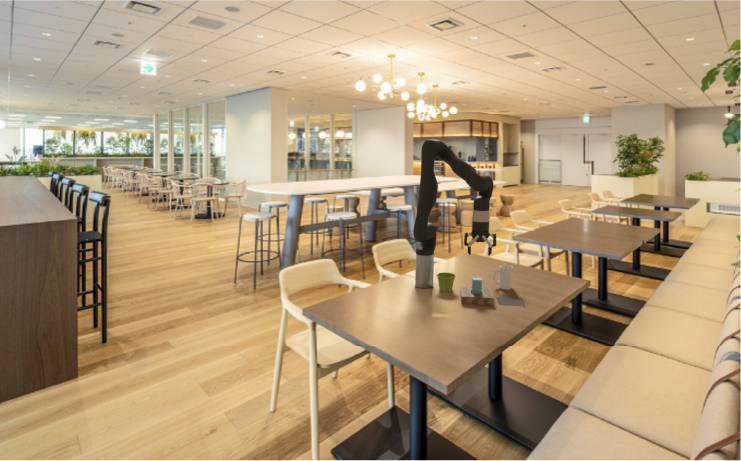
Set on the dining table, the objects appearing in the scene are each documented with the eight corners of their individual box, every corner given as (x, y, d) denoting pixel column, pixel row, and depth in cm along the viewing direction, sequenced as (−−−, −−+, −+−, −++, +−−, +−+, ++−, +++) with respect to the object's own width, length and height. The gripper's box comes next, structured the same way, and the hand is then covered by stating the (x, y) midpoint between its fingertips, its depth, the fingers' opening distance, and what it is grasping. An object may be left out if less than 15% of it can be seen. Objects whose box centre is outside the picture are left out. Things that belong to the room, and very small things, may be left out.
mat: (498, 306, 180) (498, 304, 179) (495, 298, 190) (495, 296, 190) (524, 308, 178) (524, 306, 177) (520, 299, 188) (520, 297, 188)
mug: (508, 286, 207) (509, 264, 205) (514, 291, 201) (515, 267, 199) (489, 287, 206) (490, 265, 204) (494, 291, 200) (495, 268, 198)
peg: (472, 300, 185) (472, 279, 183) (471, 297, 189) (472, 277, 187) (481, 301, 184) (481, 280, 182) (480, 298, 188) (481, 277, 186)
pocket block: (461, 305, 181) (461, 296, 180) (460, 295, 195) (460, 286, 194) (493, 307, 179) (493, 298, 178) (490, 297, 192) (490, 288, 191)
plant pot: (455, 295, 195) (455, 278, 194) (435, 294, 197) (436, 277, 196) (455, 289, 204) (455, 272, 203) (436, 288, 206) (436, 272, 205)
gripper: (465, 221, 178) (463, 256, 181) (498, 221, 176) (496, 257, 179) (464, 218, 185) (463, 252, 188) (496, 219, 183) (494, 253, 186)
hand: (479, 254), depth 183 cm, fingers open, 8 cm apart
